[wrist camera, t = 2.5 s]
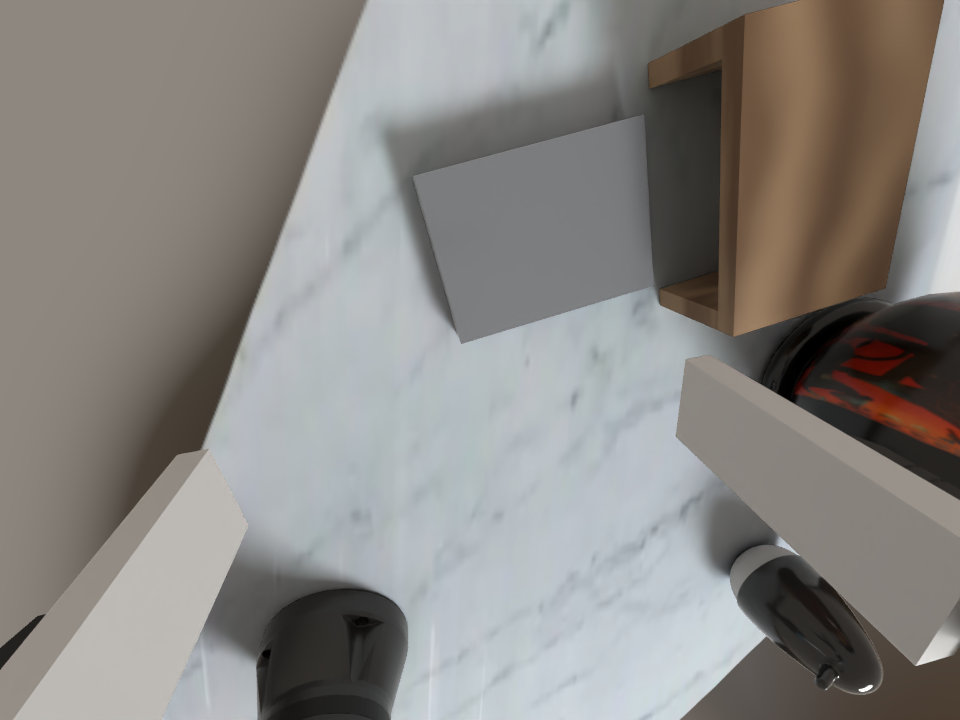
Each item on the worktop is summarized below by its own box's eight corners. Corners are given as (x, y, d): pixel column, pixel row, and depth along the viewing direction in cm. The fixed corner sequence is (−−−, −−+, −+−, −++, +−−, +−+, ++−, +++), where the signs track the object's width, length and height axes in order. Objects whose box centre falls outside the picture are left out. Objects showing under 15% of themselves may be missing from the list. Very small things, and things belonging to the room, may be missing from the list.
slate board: (456, 331, 33) (461, 343, 30) (411, 177, 28) (413, 175, 25) (633, 278, 34) (653, 285, 32) (621, 121, 29) (644, 114, 26)
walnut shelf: (660, 305, 35) (733, 337, 27) (647, 63, 28) (744, 14, 20) (781, 267, 36) (885, 288, 28) (802, 23, 28) (952, -39, 21)
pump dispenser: (729, 535, 50) (854, 665, 36) (796, 528, 52) (938, 649, 38) (704, 591, 54) (810, 729, 40) (768, 583, 56) (888, 711, 42)
